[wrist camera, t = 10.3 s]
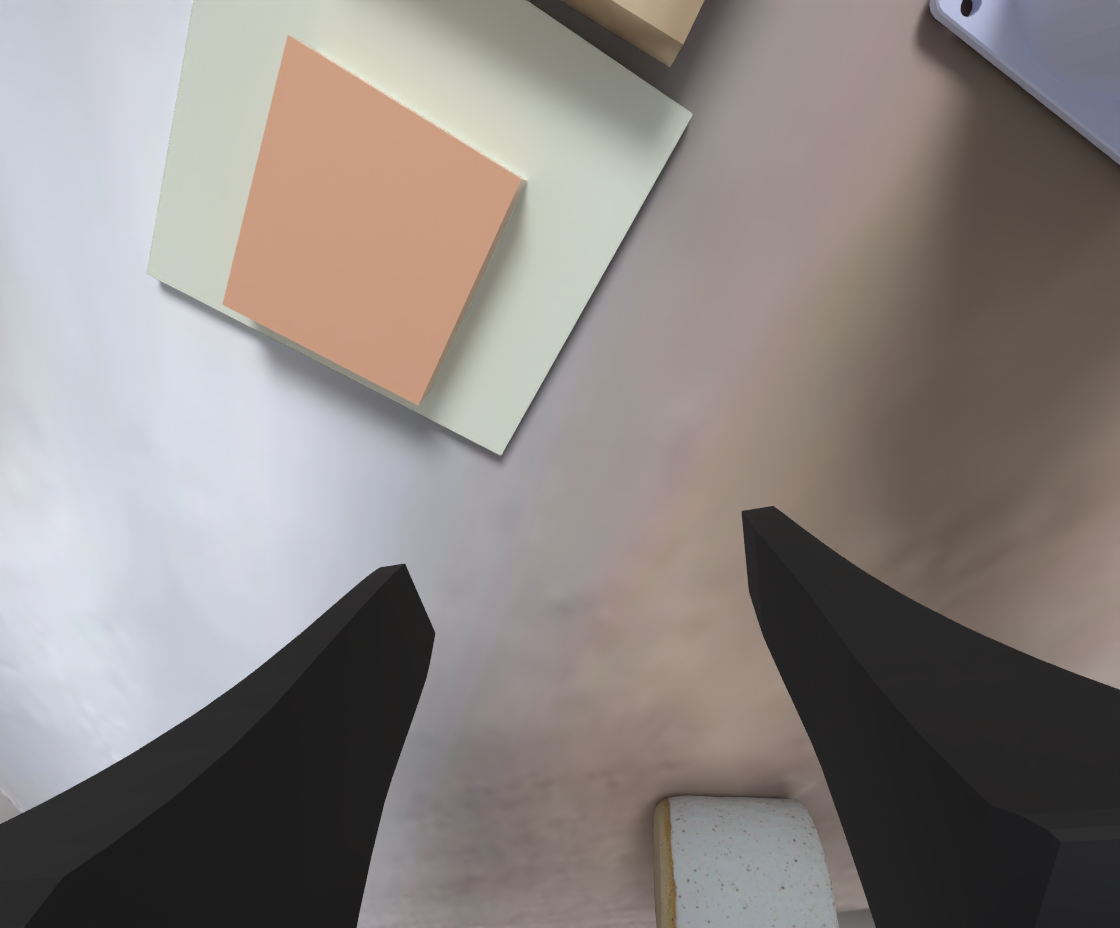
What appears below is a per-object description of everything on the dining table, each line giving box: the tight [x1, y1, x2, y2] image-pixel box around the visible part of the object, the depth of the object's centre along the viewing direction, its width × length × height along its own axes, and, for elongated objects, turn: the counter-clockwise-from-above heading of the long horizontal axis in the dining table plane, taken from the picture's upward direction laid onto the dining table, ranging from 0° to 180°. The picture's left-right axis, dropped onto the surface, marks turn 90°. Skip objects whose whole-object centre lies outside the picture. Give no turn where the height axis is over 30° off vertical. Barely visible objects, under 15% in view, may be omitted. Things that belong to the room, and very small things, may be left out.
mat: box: [147, 0, 693, 456], centre depth 17 cm, size 14×13×1 cm
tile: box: [222, 35, 527, 405], centre depth 17 cm, size 7×2×8 cm
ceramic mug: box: [653, 795, 839, 928], centre depth 29 cm, size 11×8×8 cm
